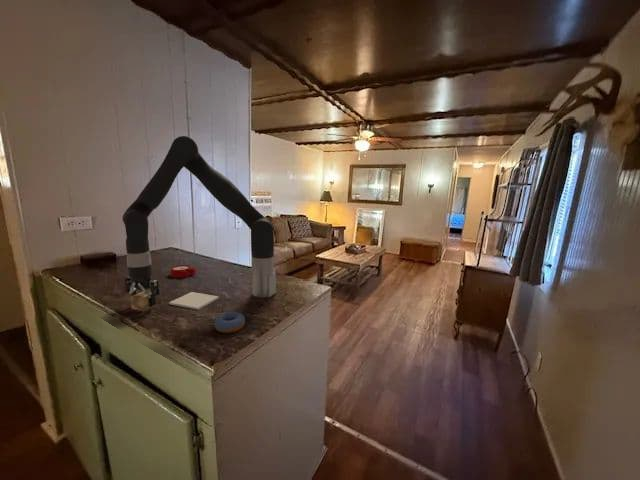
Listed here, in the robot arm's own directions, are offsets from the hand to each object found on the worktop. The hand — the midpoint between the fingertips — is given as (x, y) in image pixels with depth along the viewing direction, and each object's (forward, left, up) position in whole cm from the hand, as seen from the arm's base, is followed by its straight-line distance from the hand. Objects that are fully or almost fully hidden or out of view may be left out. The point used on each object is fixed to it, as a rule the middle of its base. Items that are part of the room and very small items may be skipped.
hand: (143, 304), depth 105 cm
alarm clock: (+17, -37, -2) cm, 41 cm away
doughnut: (-39, +1, -2) cm, 39 cm away
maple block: (0, 0, -1) cm, 1 cm away
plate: (-13, -12, -1) cm, 18 cm away
